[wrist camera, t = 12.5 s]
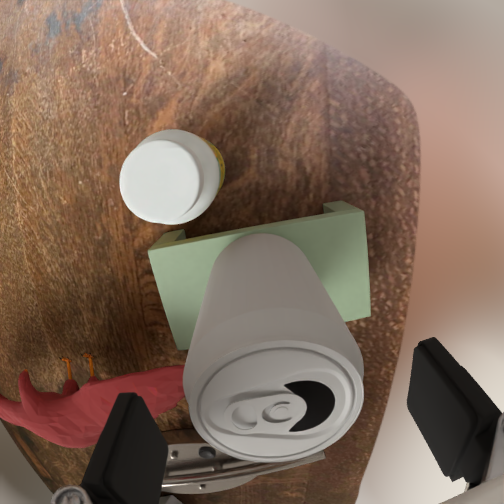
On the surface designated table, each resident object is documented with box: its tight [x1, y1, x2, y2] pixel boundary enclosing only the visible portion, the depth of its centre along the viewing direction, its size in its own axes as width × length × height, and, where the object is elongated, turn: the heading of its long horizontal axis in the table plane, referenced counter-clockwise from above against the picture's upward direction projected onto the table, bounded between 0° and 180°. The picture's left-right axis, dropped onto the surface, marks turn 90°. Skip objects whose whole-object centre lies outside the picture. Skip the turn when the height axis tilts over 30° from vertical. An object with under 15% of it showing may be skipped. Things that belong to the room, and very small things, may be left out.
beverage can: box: [183, 233, 364, 462], centre depth 15 cm, size 6×6×12 cm
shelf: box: [148, 201, 371, 350], centre depth 23 cm, size 14×8×5 cm, turn 100°
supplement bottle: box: [120, 129, 225, 225], centre depth 19 cm, size 5×5×10 cm
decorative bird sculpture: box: [0, 352, 185, 448], centre depth 24 cm, size 28×9×15 cm
